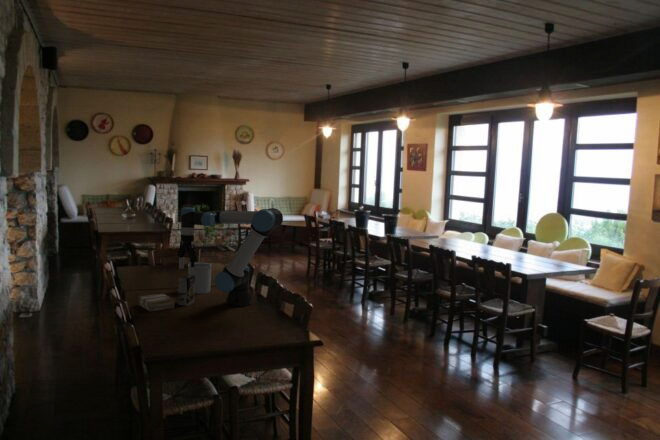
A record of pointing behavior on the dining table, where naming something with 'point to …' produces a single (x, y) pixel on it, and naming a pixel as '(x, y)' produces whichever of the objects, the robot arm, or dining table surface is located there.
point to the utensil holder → (202, 277)
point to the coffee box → (186, 290)
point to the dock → (156, 302)
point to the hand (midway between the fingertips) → (186, 270)
